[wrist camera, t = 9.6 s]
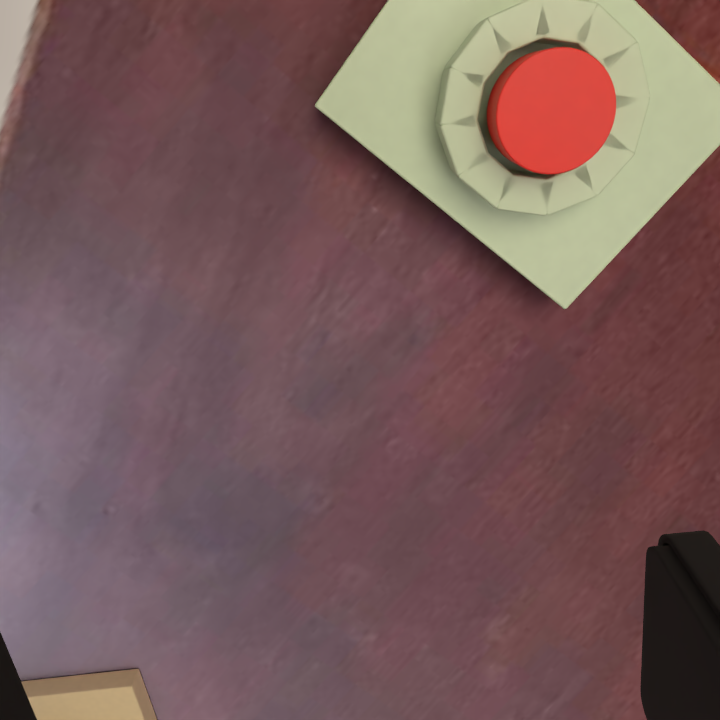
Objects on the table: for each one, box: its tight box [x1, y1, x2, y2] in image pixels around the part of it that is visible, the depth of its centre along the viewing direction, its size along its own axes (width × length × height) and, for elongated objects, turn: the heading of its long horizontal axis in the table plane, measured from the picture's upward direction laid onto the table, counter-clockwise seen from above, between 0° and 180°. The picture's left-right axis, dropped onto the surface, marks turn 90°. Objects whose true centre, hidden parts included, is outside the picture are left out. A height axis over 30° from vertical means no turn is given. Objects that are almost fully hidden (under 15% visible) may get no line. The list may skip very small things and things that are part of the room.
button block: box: [315, 0, 720, 309], centre depth 23 cm, size 12×9×4 cm
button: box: [487, 47, 616, 175], centre depth 21 cm, size 4×4×2 cm
